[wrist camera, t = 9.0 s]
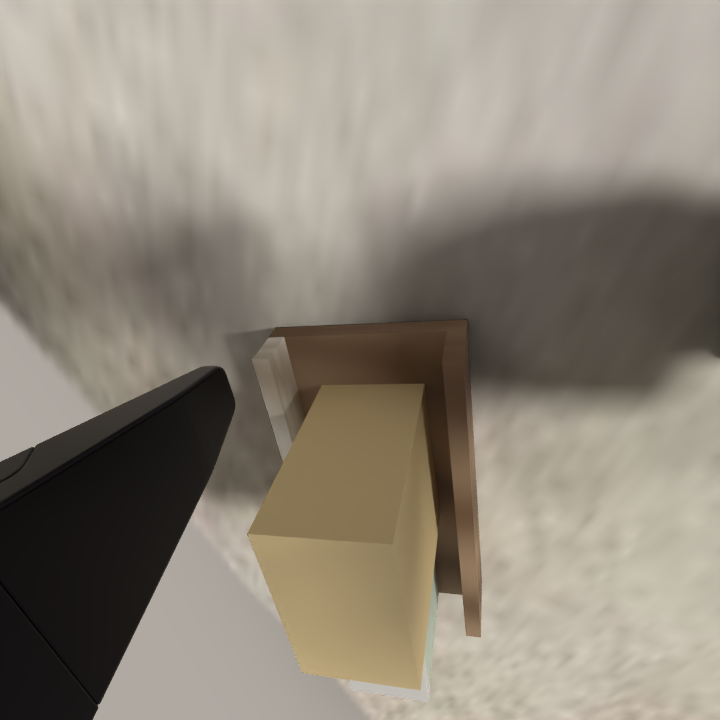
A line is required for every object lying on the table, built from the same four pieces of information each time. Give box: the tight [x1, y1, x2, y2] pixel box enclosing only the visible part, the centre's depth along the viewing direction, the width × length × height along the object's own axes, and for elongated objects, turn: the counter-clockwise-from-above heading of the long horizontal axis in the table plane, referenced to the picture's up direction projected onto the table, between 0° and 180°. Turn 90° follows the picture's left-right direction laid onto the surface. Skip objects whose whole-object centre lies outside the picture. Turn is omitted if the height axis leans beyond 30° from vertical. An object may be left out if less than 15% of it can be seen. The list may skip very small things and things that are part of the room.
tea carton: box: [247, 384, 440, 691], centre depth 22 cm, size 8×5×9 cm, turn 9°
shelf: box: [252, 320, 482, 637], centre depth 26 cm, size 18×9×4 cm, turn 9°
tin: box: [349, 565, 439, 702], centre depth 28 cm, size 4×4×6 cm
